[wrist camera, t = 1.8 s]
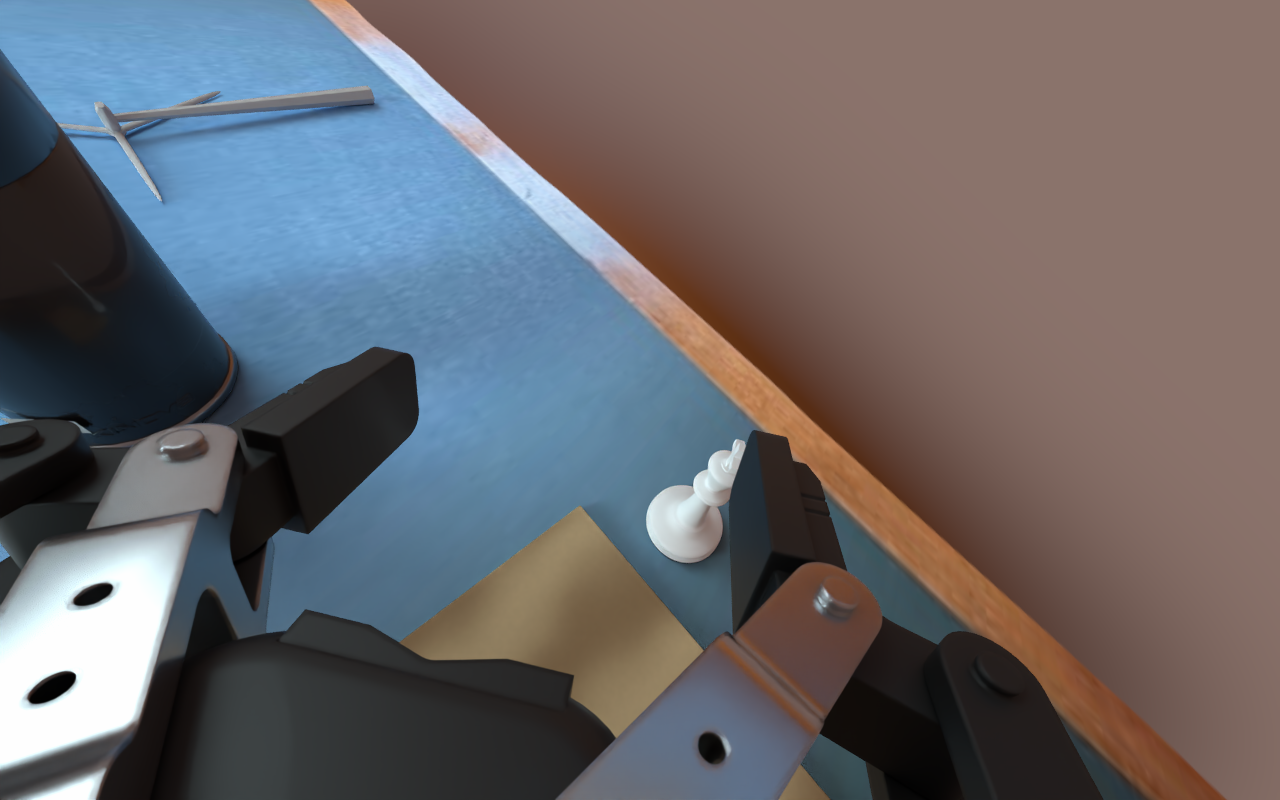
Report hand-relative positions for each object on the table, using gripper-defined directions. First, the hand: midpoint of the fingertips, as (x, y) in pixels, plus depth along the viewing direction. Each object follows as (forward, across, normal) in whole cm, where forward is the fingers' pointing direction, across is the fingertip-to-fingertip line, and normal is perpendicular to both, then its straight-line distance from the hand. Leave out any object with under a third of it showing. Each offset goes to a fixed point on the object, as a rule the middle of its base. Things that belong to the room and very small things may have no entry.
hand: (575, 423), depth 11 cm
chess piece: (+13, -5, +15) cm, 21 cm away
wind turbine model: (+33, +42, +1) cm, 53 cm away
